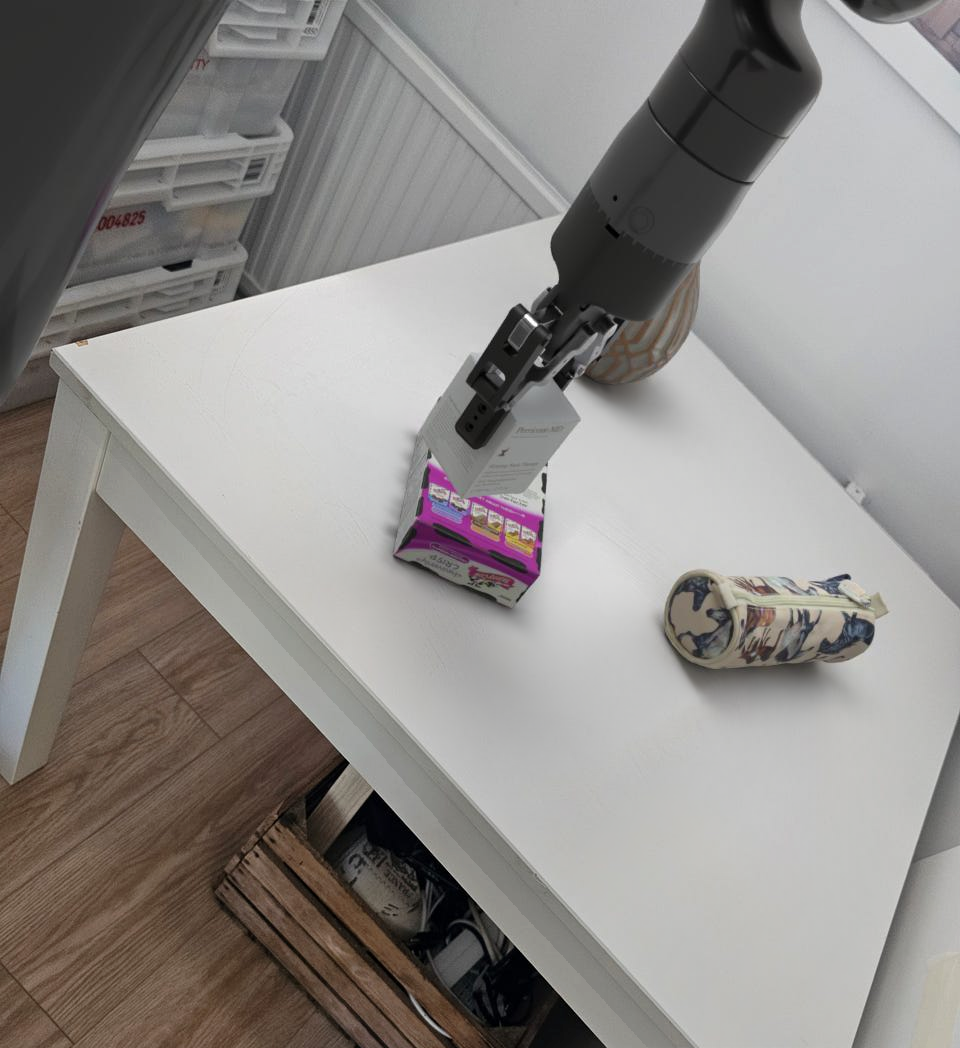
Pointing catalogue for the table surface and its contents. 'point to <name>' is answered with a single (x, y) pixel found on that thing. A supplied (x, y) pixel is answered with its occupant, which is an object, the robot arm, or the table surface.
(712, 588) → the pencil case
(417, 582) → the table surface
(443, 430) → the product box
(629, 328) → the vase
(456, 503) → the candy bar box
